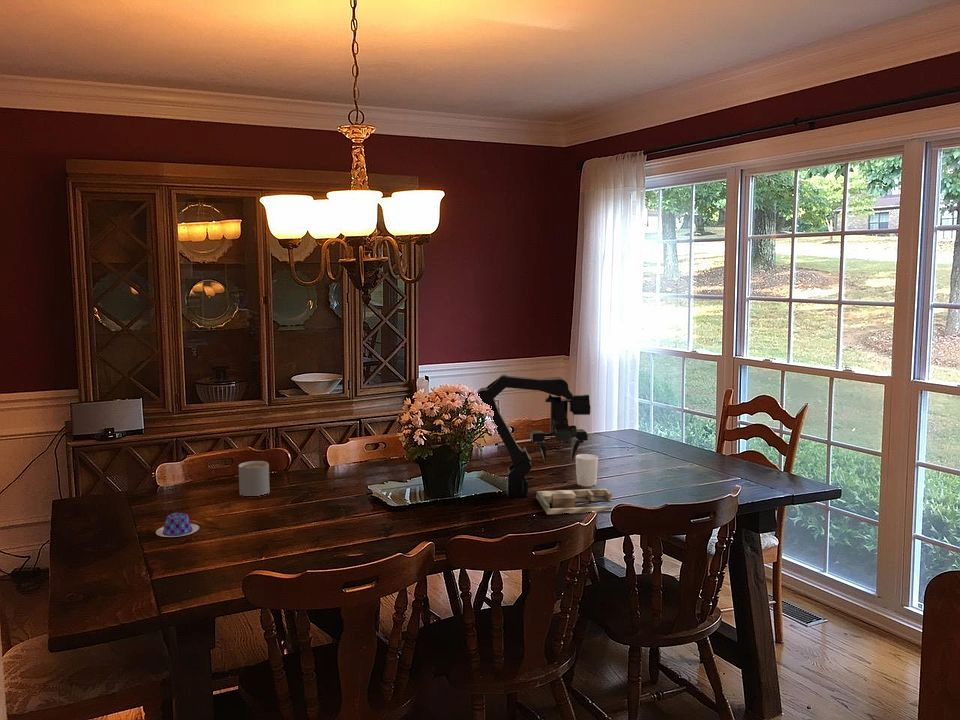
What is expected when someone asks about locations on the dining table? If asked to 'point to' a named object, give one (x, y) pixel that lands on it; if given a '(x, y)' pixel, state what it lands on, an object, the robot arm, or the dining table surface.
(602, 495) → the trap lane
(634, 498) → the dining table surface
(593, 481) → the white cup
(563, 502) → the walnut block
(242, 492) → the coffee mug
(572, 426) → the robot arm
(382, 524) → the dining table surface
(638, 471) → the dining table surface
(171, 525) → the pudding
